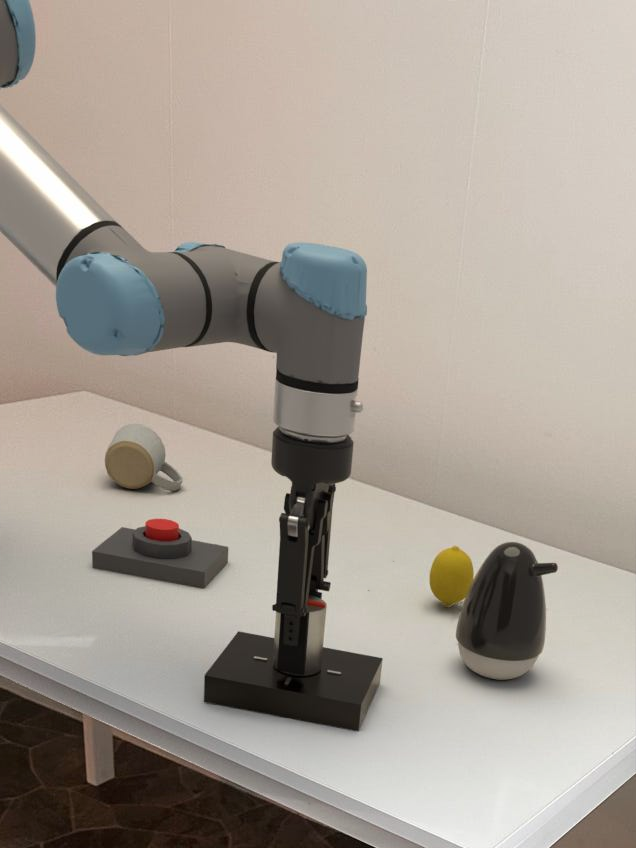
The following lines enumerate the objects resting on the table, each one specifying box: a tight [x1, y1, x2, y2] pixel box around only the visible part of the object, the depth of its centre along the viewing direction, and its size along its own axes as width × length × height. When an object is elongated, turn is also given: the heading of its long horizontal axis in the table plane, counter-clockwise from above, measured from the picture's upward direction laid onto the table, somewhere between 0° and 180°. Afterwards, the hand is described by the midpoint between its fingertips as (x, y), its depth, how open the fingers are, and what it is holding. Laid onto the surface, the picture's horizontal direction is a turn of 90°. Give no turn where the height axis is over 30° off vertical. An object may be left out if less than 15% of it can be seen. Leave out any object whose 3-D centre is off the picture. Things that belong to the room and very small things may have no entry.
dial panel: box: [203, 630, 384, 732], centre depth 124 cm, size 16×12×3 cm
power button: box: [144, 518, 180, 541], centre depth 146 cm, size 4×4×2 cm
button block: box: [91, 525, 229, 589], centre depth 147 cm, size 14×10×4 cm
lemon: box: [429, 545, 475, 608], centre depth 149 cm, size 6×6×8 cm
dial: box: [273, 595, 328, 676], centre depth 121 cm, size 5×5×7 cm
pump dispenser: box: [455, 541, 559, 681], centre depth 133 cm, size 10×10×15 cm
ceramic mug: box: [104, 423, 184, 492], centre depth 172 cm, size 11×8×8 cm
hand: (297, 659), depth 123 cm, fingers closed on dial, 5 cm apart
